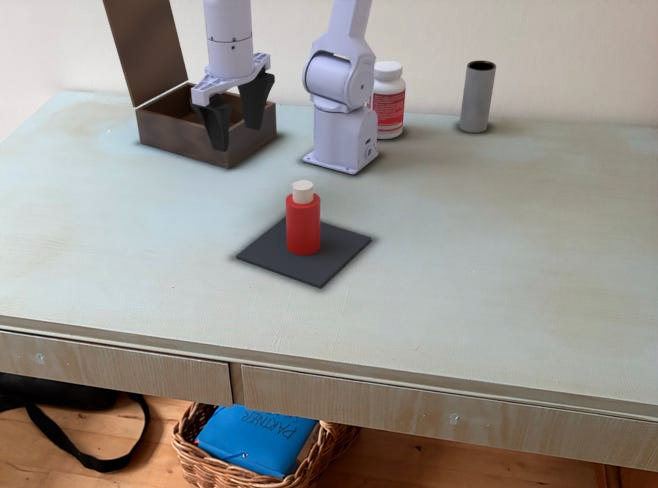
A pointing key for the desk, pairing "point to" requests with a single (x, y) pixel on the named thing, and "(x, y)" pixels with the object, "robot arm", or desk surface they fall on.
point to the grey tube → (477, 96)
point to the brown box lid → (146, 46)
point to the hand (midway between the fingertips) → (237, 138)
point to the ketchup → (303, 219)
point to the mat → (305, 268)
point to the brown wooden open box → (200, 128)
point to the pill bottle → (388, 98)
